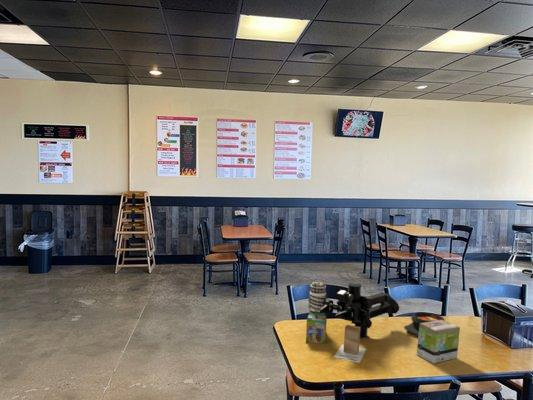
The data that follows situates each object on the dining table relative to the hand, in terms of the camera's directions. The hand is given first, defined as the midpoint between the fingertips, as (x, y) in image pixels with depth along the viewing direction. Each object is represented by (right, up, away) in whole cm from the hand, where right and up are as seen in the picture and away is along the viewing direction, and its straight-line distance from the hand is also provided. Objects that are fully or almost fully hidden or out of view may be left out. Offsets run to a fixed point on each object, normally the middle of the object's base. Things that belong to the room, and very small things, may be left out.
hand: (327, 313), depth 180 cm
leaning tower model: (-3, -15, +21) cm, 27 cm away
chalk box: (-4, -16, +10) cm, 19 cm away
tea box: (+49, -19, -1) cm, 52 cm away
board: (+9, -17, -4) cm, 20 cm away
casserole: (+56, -18, +28) cm, 65 cm away
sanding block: (+10, -16, -2) cm, 19 cm away
